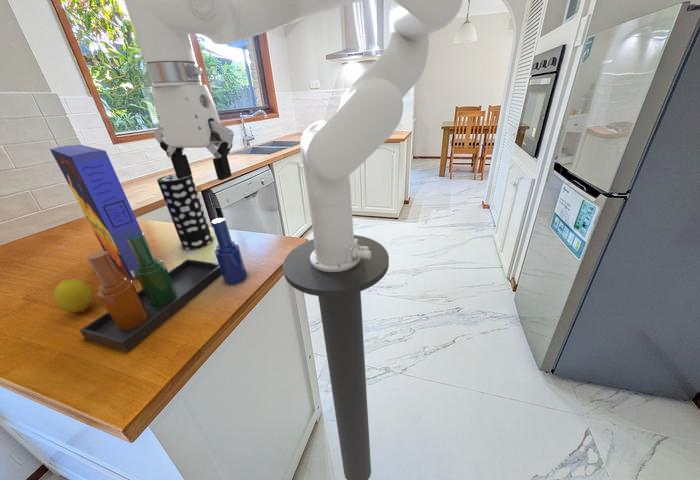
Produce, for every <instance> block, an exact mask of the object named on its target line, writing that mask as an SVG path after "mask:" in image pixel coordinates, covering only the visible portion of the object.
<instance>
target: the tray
mask: <svg viewBox="0 0 700 480" xmlns="http://www.w3.org/2000/svg"><path fill="white" fill-rule="evenodd" d="M168 273H169V275H170V278H171V280H172V282H173V285H174V287H175V289H176V292H177V296H176V297H175V299H173V300H172V301H171V302H169V303H167V304H164V305H161V306H152V305H151V304H150V303H149V301H148V299H147V297H146V295H145V293H144V291H143V289H142V288H141V289H140V290H138V291H137V293H138V295H139V296H140V298H141V300H142V302H143V304H144V306H145V308H146V310H147V312H148V314H149V316H148V318H147V320H146V321H145V322H144V323H142V324H141V325H139V326H137V327H135V328H133V329H130V330H124V331H123V330H119V329H118V328H117V327H116V325H115V323H114V322H113V320H112V318H111V317H110V315H109V313H108V312H107V311H106V312H105V313H103V314H102V315H100V316H99V317H97V318H96V319H94V320H93V321H91V322H90V323H88V324H86V325H85V326H84V327H82V328H80V329H79V332H80V333H81V335H82V336H83V338H84V339H85V340H87V341H90V342H92V343H93V342H94V343H97V344H99V345H104V346H106V347H111V348H113V349H117V350H120V351H123V352H127V353H129V352H130V351H131V350H132V349H134V348H135V347H136V346H137V345H139V344H140V343H141V342H143V340H145V339H146V338H147V337H148V336H150V334H152V333H153V332H154V331H156V330H157V329H158V328H159V327H160V326H161V325H163V324H164V323H165V322H167V321H168V320H169V319H170V318H171V317H172V316H174V315H175V314H177V312H179V311H180V310H181V309H182V308H183V307H185V306H186V305H187V304H188V303H189V302H191V301H192V300H193V299H194V298H196V297H197V296H198V295H199V294H200V293H202V292H203V291H204V290H205V289H206V288H208V287H209V286H210V285H211V284H213V283H214V282H216V280H218V279H219V278H221V276H222V273H221V270H220V267H219V264H218V262H208V261H203V260H202V261H201V260H196V259H189V258H188V259H185V260H184V261H182V262H180V263H179V264H178V265H176V266H174V267H173V268H172V269H170V270H169V271H168Z"/></svg>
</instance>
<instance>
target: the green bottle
mask: <svg viewBox="0 0 700 480" xmlns="http://www.w3.org/2000/svg"><path fill="white" fill-rule="evenodd" d="M147 240H148V239H147V238H146V237H145V234H144V232H142V233H137V234H133V235H130V236H128V237H127V241H128V243H129V245H130V247H131V249H132V251H133V253H134V256H135V258H136V260H137V262H138V264H137V265H136V269H135V271H134V272H135V275H136V277H137V278H136V279H137V281H138V282H139V285H140V287H141V289H143V291H144V293H145V295H146V297H147V299H148V301H149V303H150V304H151V305H152V306H161V305H164V304H167V303H169V302H171V301H172V300H173V299H175V297H176V296H177V292H176V289H175V287H174V285H173V282H172V280H171V278H170V275H169V273H168V272H169V271H168V269H167V266H166V264H165V262H164V261H163V260H160V259H159V258H158V257H155V256H154V254H153V252H152V249H151V247H150V245H149V242H148V241H147Z"/></svg>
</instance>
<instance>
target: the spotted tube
mask: <svg viewBox="0 0 700 480" xmlns="http://www.w3.org/2000/svg"><path fill="white" fill-rule="evenodd" d="M156 181H157V184H158V187H159V190H160V192H161V195H162V197H163V200H164V202H165V205H166V207H167V211H168V213H169V216H170V219H171V221H172V223H173V226H174V228H175V231H176V234H177V236H178V239H179V242H180V244H181V247H182V249H184V250H190V251H191V250H197V249H202V248H203V247H206V246H208V245H210V244H211V243H212V242H213V236H212V232H211V230H210V227H209V226H210V225H209V224H208V220H207V218H206V214H205V211H204V208H203V205H202V202H201V198H200V196H199V193H198V189H197V186H196V183H195V180H194V177H193V173H192V174H191V175H189V176H186V177H183V178H177V176H176V173H173V174H168V175H164V176H161V177H159V178H157V179H156Z"/></svg>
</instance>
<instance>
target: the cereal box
mask: <svg viewBox="0 0 700 480" xmlns="http://www.w3.org/2000/svg"><path fill="white" fill-rule="evenodd" d="M49 150H50V153H51V155H52V156H53V158H54V160H55V163H57V165H58V167H59V169H60V171H61V173H62V175H63V177H64V178H65V180H66V182H67V184H68V186H69V188H70V190H71V192H72V194H73V195H74V197H75V199H76V201H77V203H78V205H79V206H80V208H81V210H82V212H83V214H84V216H85V218H86V220H87V222H88V224H89V225H90V227H91V229H92V231H93V234H94V235H95V237H96V239H97V240H98V242H99V244H100V246H101V248H102V251H107V253H108V255H109V256H110V258H111V260H112V262H113V264H114V265H116V266H117V267H118V268H119V269H120V270H122V272H124V274H126V275H127V276H128V277H129V278H130V279H131V280H135V279H137V277H136V275H135V272H134V271H135V269H136V265H137V264H138V262H137V260H136V258H135V256H134V253H133V251H132V249H131V247H130V245H129V243H128V241H127V237H128V236H130V235H133V234H137V233H143V230H142V228H141V226H140V224H139V222H138V220H137V218H136V215H135V213H134V210H133V209H132V205H131V204H130V201H129V200H128V198H127V195H126V193H125V191H124V188H123V185H122V183H121V182H120V180H119V177H118V175H117V172H116V170H115V168H114V166H113V163H112V161H111V159H110V157H109V155H108V153H107V150H106V149H105V150H104V149H100V148H97V147H91V146H88V145H83V144H70V145H63V146H58V147H53V148H49Z"/></svg>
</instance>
